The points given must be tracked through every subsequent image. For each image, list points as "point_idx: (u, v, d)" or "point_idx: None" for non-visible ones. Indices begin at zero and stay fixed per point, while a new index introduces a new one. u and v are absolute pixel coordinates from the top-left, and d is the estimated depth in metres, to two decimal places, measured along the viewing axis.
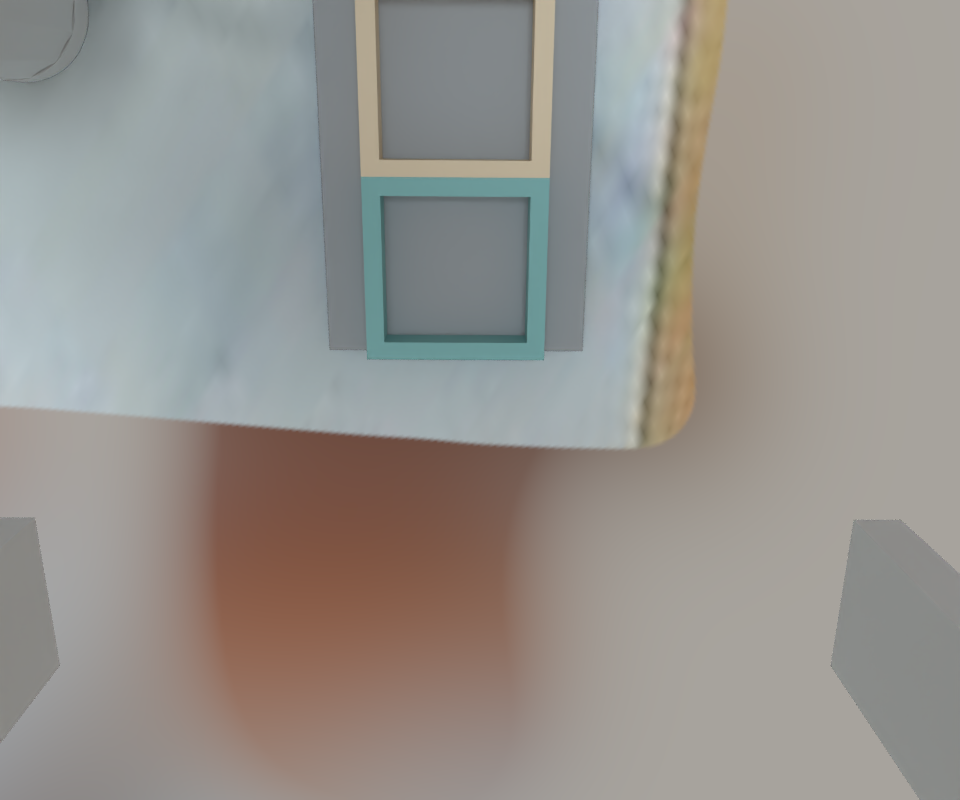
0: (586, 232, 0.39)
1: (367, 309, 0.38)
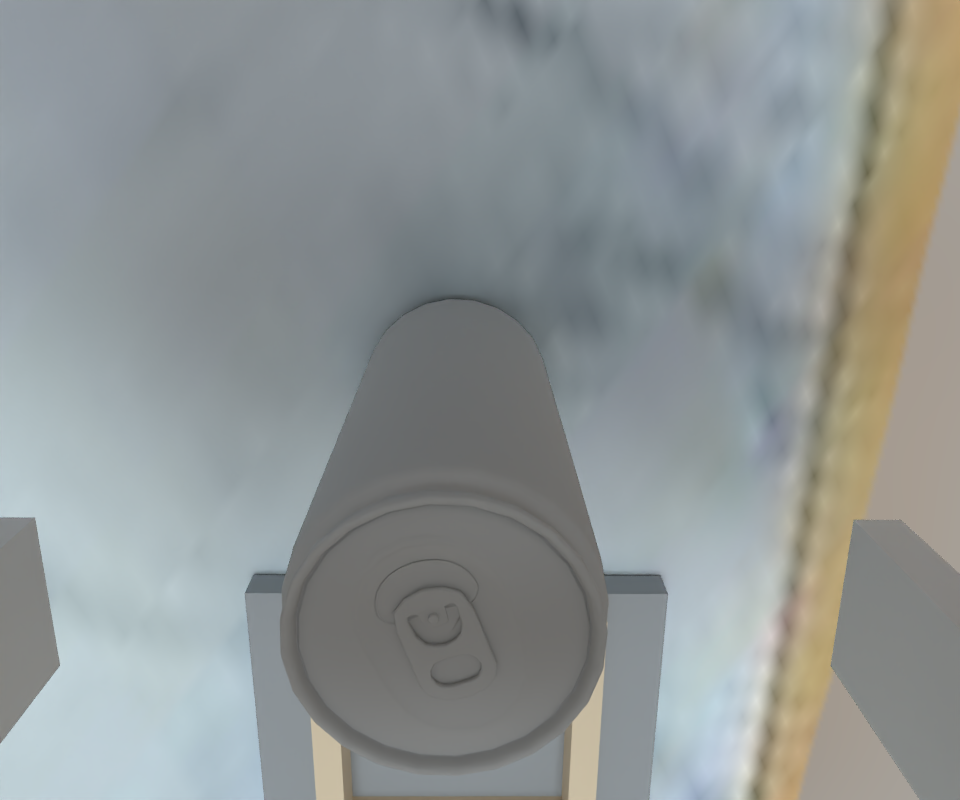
0: None
1: None
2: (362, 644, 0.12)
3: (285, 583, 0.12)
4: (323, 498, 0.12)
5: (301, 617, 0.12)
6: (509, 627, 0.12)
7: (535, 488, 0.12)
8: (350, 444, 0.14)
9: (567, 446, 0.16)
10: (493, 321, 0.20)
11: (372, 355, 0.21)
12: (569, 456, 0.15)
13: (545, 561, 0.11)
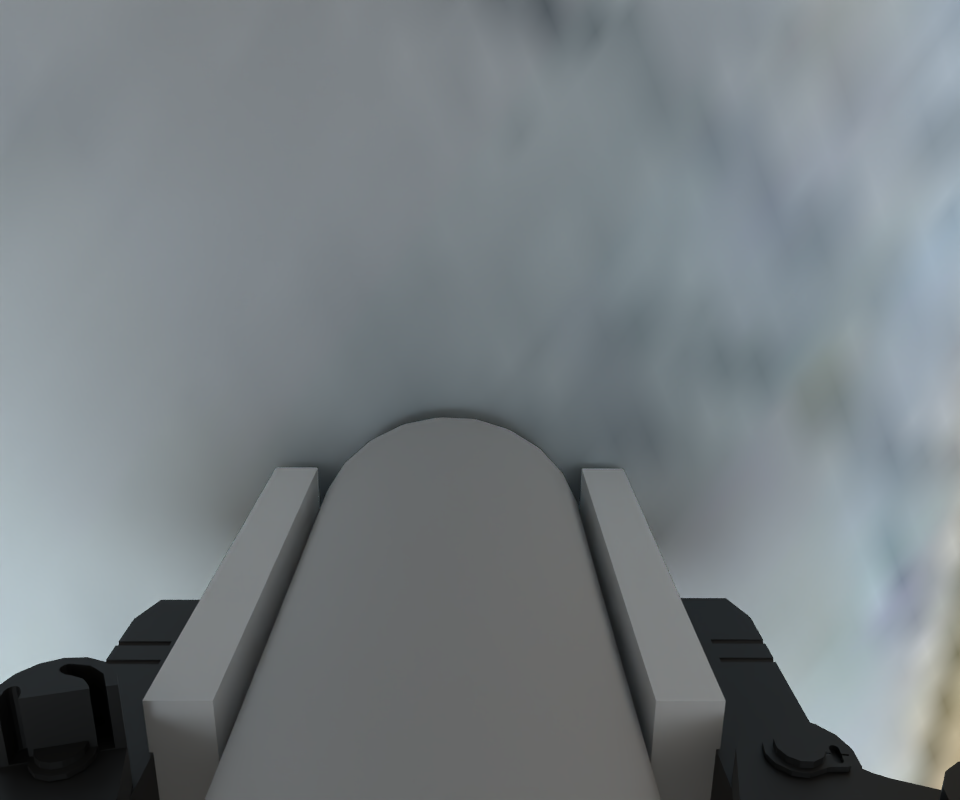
0: None
1: None
2: None
3: None
4: None
5: None
6: None
7: None
8: None
9: (643, 743, 0.09)
10: (505, 463, 0.13)
11: (322, 506, 0.14)
12: (653, 785, 0.08)
13: None
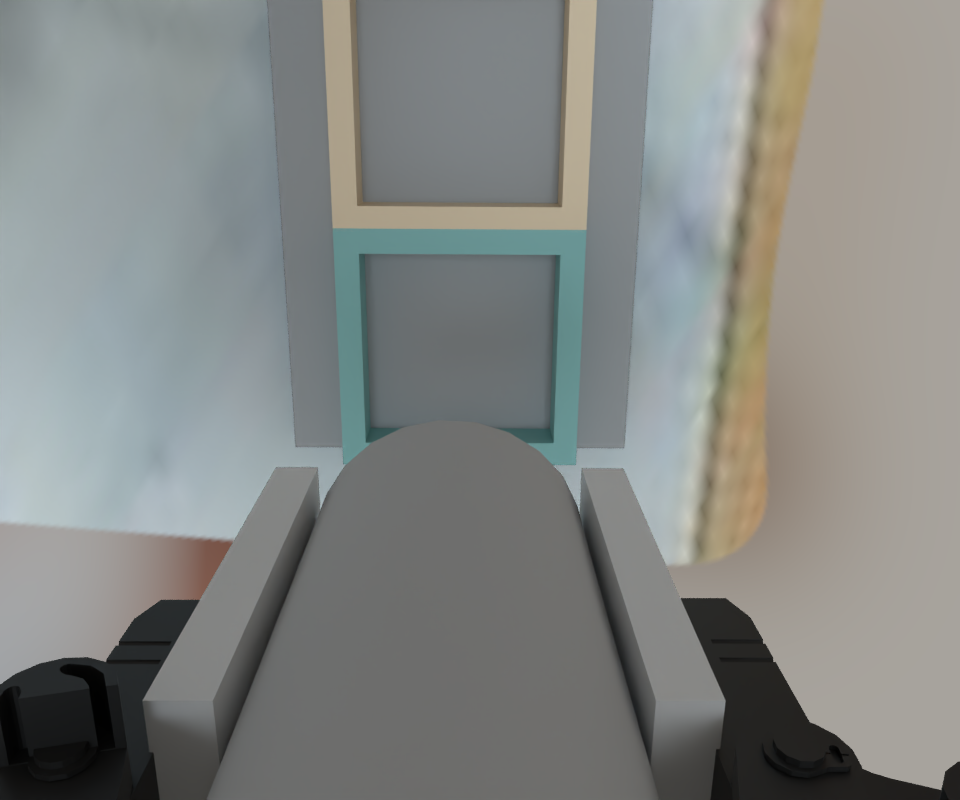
0: (632, 297, 0.29)
1: (343, 400, 0.29)
2: None
3: None
4: None
5: None
6: None
7: None
8: None
9: (643, 749, 0.09)
10: (505, 467, 0.13)
11: (322, 510, 0.14)
12: (653, 792, 0.08)
13: None
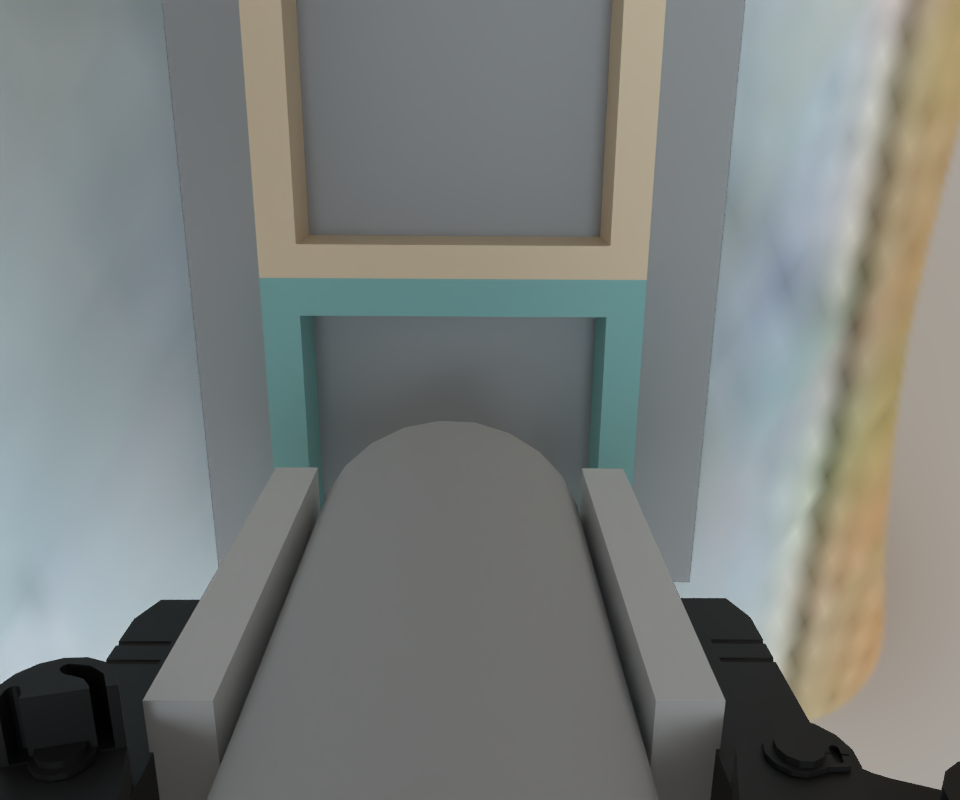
0: (706, 373, 0.20)
1: None
2: None
3: None
4: None
5: None
6: None
7: None
8: None
9: (643, 750, 0.09)
10: (505, 467, 0.13)
11: (322, 510, 0.14)
12: (653, 793, 0.08)
13: None
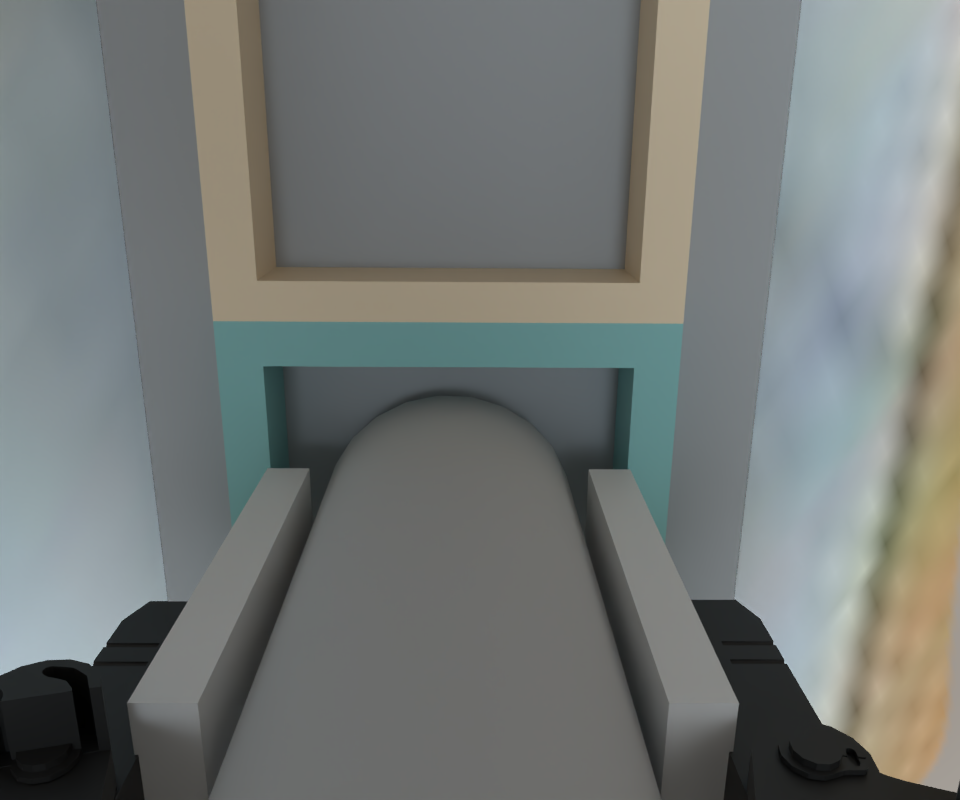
0: (749, 429, 0.17)
1: None
2: None
3: None
4: None
5: None
6: None
7: None
8: (265, 723, 0.08)
9: (621, 668, 0.10)
10: (500, 435, 0.14)
11: (332, 477, 0.15)
12: (628, 699, 0.10)
13: None
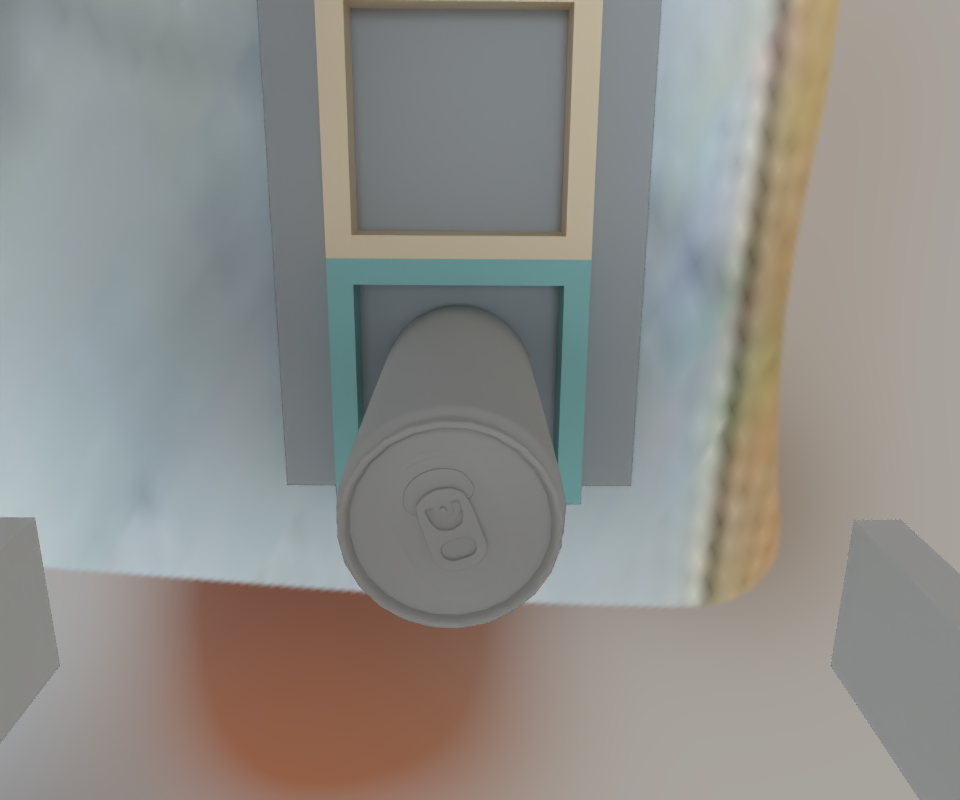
0: (638, 329, 0.28)
1: (336, 437, 0.27)
2: (394, 529, 0.17)
3: (339, 489, 0.17)
4: (365, 432, 0.18)
5: (352, 510, 0.17)
6: (495, 517, 0.17)
7: (514, 421, 0.17)
8: (381, 400, 0.19)
9: (542, 409, 0.22)
10: (487, 321, 0.26)
11: (391, 349, 0.26)
12: (542, 414, 0.21)
13: (520, 469, 0.17)
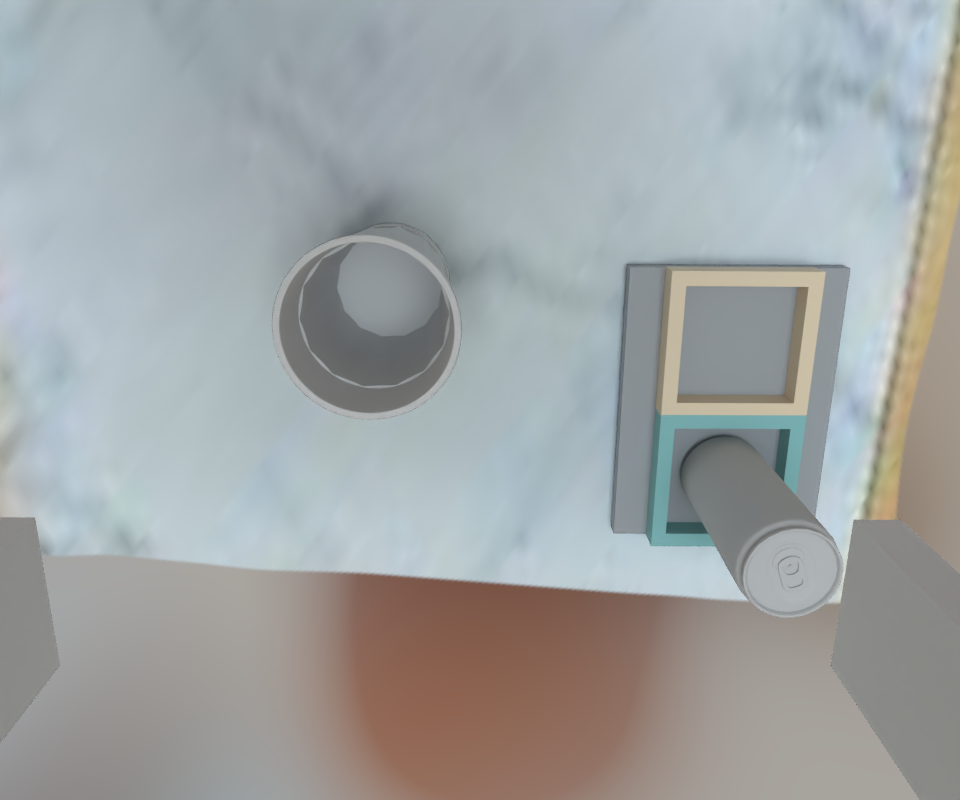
0: (823, 447, 0.49)
1: (655, 509, 0.49)
2: (767, 574, 0.38)
3: (739, 555, 0.39)
4: (748, 529, 0.39)
5: (749, 565, 0.38)
6: (812, 568, 0.38)
7: (820, 526, 0.38)
8: (740, 509, 0.41)
9: None
10: (750, 449, 0.47)
11: (692, 462, 0.48)
12: None
13: (825, 548, 0.38)
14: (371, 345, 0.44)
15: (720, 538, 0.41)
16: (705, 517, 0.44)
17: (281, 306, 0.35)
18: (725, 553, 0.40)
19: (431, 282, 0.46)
